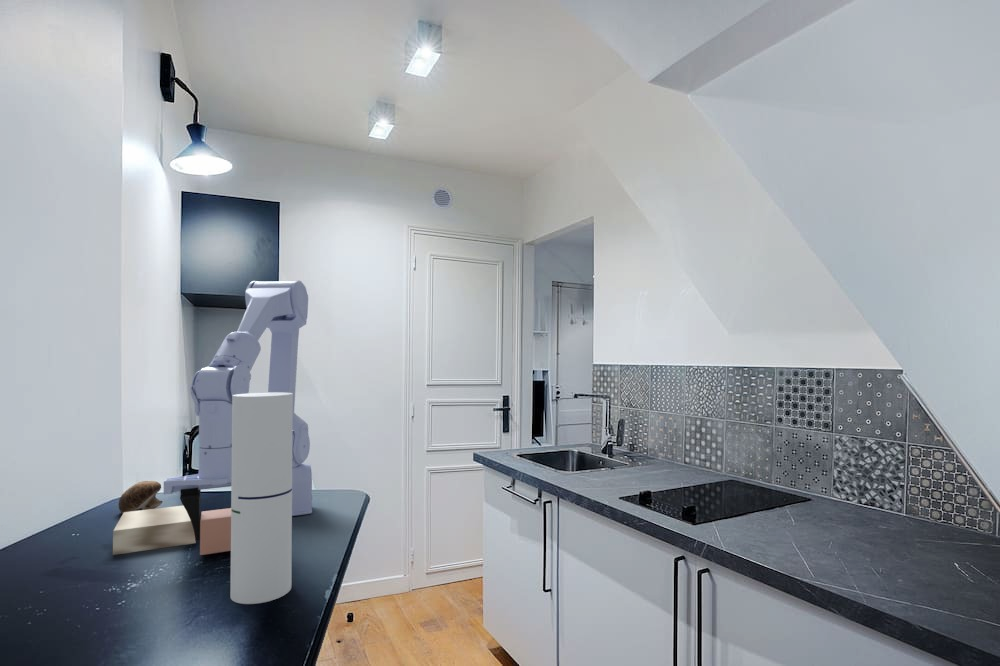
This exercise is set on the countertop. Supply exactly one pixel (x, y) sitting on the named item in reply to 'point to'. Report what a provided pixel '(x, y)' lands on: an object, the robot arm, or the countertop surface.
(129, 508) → the mushroom
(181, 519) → the birch block
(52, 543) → the countertop surface
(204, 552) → the terracotta cube
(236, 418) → the cylindrical container
